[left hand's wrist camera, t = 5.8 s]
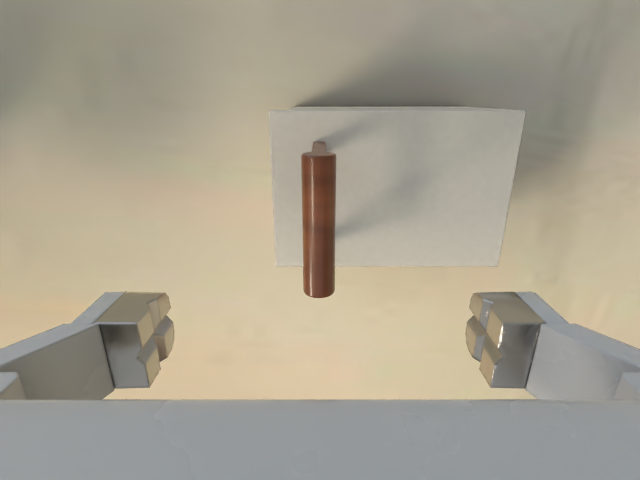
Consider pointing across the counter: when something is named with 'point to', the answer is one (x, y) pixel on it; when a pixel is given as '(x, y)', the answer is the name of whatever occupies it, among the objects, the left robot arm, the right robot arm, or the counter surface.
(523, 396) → the counter surface
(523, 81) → the counter surface
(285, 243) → the lid
